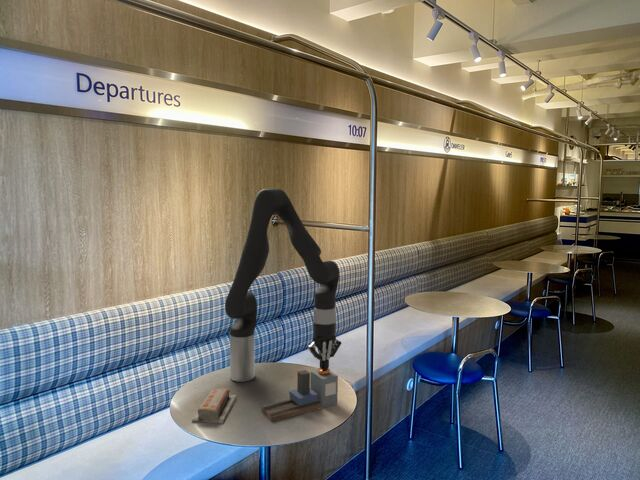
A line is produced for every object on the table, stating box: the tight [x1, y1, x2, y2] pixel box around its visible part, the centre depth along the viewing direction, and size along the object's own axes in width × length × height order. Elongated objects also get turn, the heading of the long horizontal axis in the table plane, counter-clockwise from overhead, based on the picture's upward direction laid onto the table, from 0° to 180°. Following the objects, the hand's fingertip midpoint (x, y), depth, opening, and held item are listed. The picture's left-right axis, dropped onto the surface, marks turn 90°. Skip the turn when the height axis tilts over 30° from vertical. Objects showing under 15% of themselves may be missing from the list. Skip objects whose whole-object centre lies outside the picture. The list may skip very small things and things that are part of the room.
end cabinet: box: [310, 369, 339, 409], centre depth 162 cm, size 8×6×10 cm
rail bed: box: [261, 398, 322, 422], centre depth 156 cm, size 8×18×2 cm, turn 121°
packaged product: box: [191, 387, 237, 424], centre depth 156 cm, size 18×5×10 cm
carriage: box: [288, 369, 318, 406], centre depth 158 cm, size 7×7×9 cm
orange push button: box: [317, 367, 331, 376], centre depth 162 cm, size 4×4×6 cm
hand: (324, 369), depth 162 cm, fingers closed
